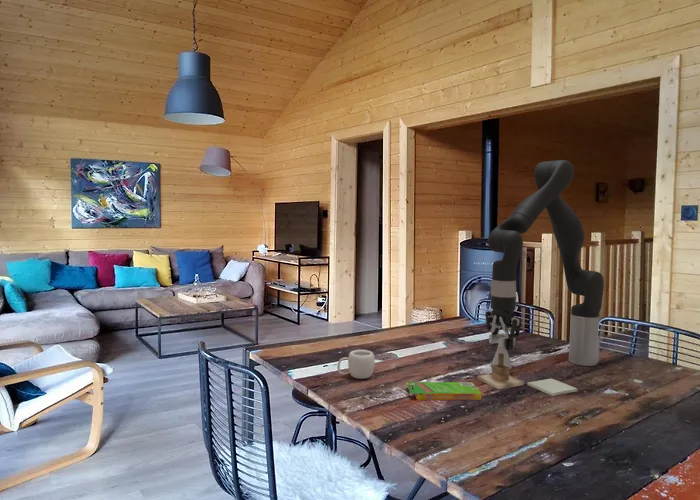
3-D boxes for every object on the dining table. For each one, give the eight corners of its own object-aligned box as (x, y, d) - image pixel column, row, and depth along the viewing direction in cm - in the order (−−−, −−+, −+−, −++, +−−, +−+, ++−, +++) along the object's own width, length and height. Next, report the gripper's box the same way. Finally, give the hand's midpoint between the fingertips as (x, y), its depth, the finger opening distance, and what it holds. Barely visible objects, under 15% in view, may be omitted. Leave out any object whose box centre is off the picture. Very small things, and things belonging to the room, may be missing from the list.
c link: (502, 340, 163) (503, 333, 162) (515, 345, 158) (515, 337, 157) (489, 342, 160) (489, 334, 160) (501, 347, 155) (501, 339, 155)
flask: (513, 371, 171) (514, 342, 170) (491, 369, 172) (492, 340, 172) (511, 364, 178) (512, 336, 177) (489, 363, 180) (490, 335, 179)
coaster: (551, 380, 161) (551, 378, 161) (577, 391, 152) (577, 388, 152) (527, 384, 157) (527, 382, 157) (552, 395, 148) (552, 393, 148)
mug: (371, 371, 168) (372, 348, 167) (376, 380, 160) (377, 356, 159) (335, 373, 166) (335, 349, 166) (338, 381, 158) (339, 357, 157)
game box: (481, 403, 144) (410, 400, 144) (471, 392, 154) (405, 388, 153) (482, 393, 144) (410, 389, 143) (472, 382, 154) (405, 378, 153)
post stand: (501, 375, 166) (502, 348, 166) (523, 384, 157) (525, 356, 157) (477, 379, 162) (478, 351, 162) (498, 389, 153) (499, 360, 152)
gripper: (529, 297, 153) (527, 352, 154) (497, 290, 166) (495, 340, 167) (510, 298, 149) (508, 355, 151) (478, 291, 163) (477, 343, 164)
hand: (501, 347), depth 159 cm, fingers closed on c link, 5 cm apart
